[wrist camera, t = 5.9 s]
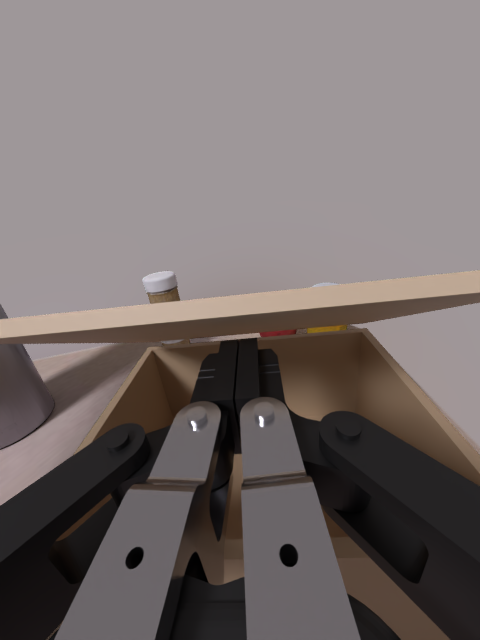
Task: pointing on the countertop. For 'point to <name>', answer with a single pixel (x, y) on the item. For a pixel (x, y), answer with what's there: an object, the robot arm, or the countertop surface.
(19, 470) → the countertop surface
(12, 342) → the carton flap
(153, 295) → the sprinkles bottle
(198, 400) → the robot arm
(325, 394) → the carton
